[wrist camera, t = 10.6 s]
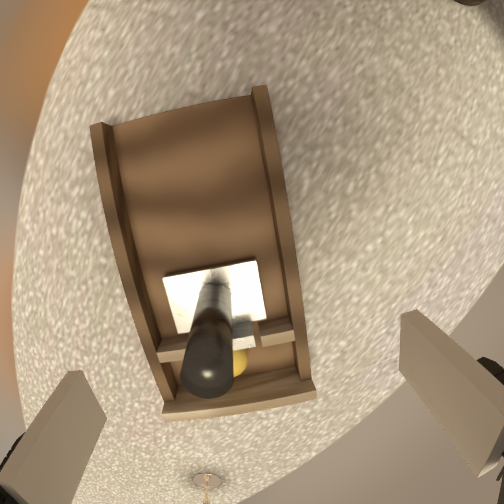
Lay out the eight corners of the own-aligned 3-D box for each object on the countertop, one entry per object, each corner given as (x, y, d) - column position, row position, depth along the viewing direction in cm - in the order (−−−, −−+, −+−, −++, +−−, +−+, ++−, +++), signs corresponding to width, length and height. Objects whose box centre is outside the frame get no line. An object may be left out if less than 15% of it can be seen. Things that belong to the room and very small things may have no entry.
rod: (164, 275, 31) (120, 345, 17) (255, 258, 31) (274, 321, 17) (182, 339, 32) (158, 432, 19) (267, 324, 32) (290, 415, 19)
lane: (106, 131, 28) (80, 122, 22) (261, 96, 29) (269, 78, 23) (172, 388, 35) (165, 421, 29) (304, 366, 36) (316, 398, 30)
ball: (215, 376, 33) (208, 341, 34) (252, 370, 33) (245, 334, 34) (210, 384, 29) (202, 344, 30) (251, 377, 29) (243, 337, 30)
